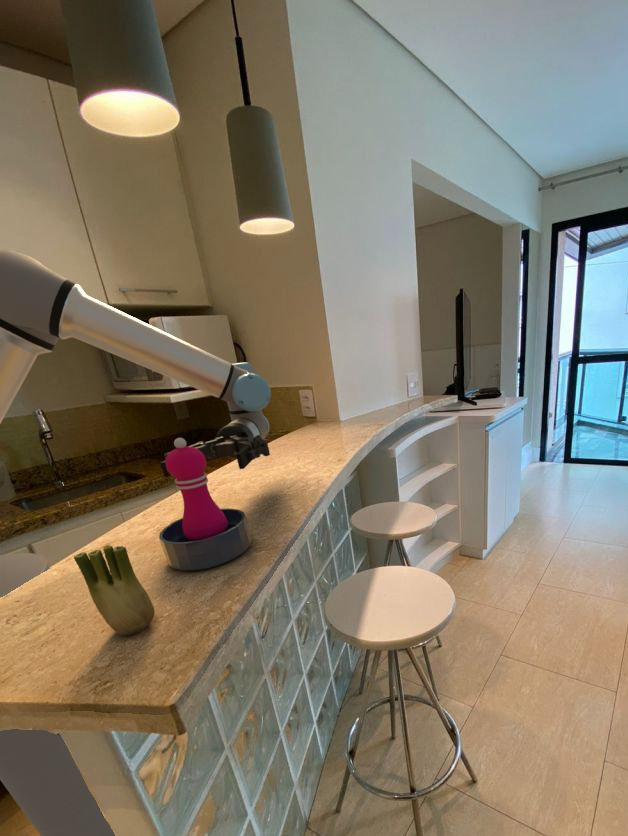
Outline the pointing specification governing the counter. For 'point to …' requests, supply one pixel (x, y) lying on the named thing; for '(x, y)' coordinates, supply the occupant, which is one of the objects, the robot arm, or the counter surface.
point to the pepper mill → (195, 493)
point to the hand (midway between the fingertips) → (202, 466)
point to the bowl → (206, 544)
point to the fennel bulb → (116, 589)
